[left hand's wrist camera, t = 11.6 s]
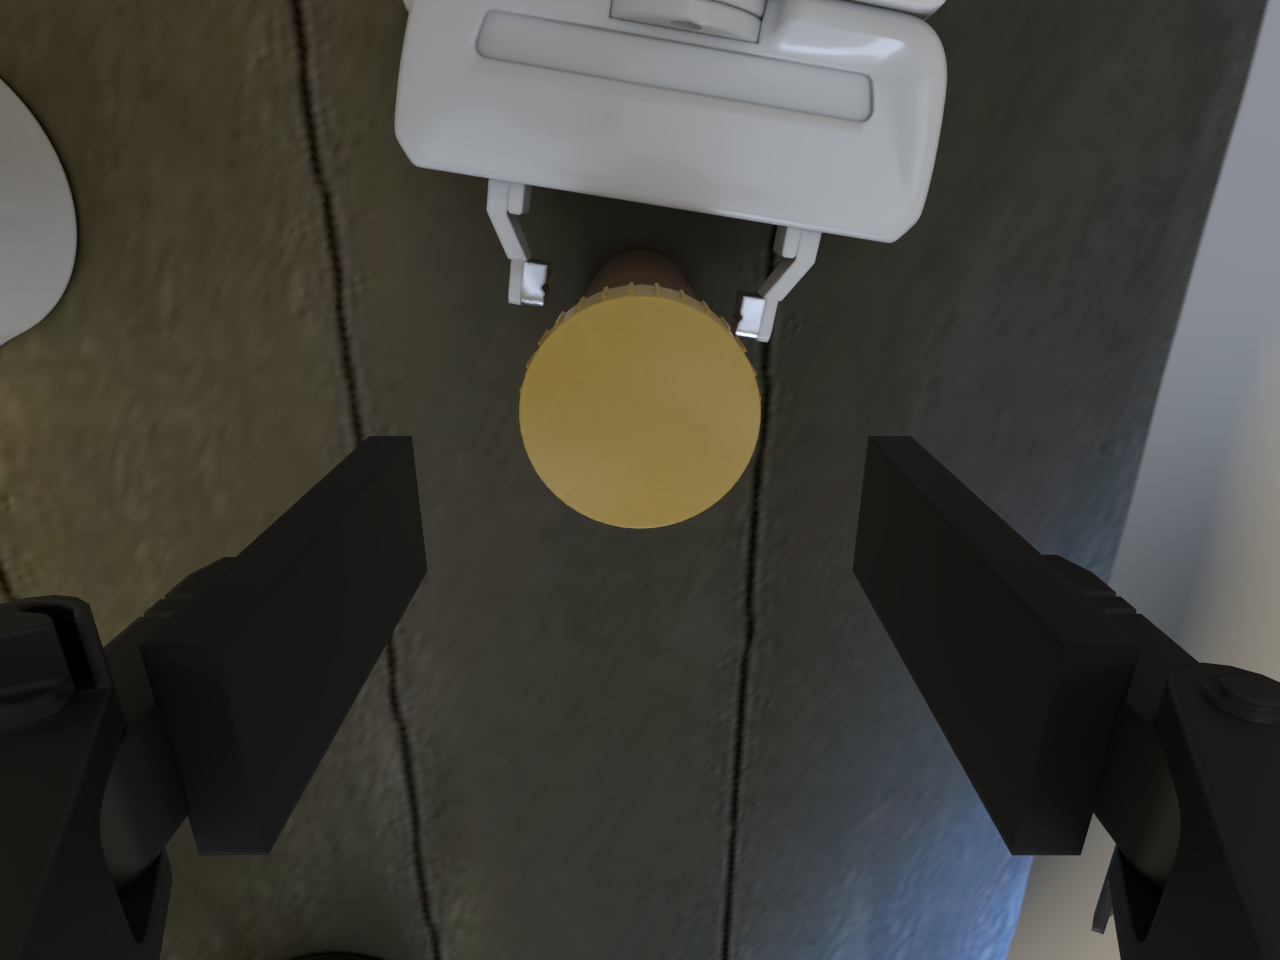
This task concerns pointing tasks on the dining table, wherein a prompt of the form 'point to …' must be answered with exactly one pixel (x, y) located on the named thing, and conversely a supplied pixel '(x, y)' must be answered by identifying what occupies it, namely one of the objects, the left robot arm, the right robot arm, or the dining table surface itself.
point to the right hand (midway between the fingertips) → (639, 321)
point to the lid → (640, 407)
